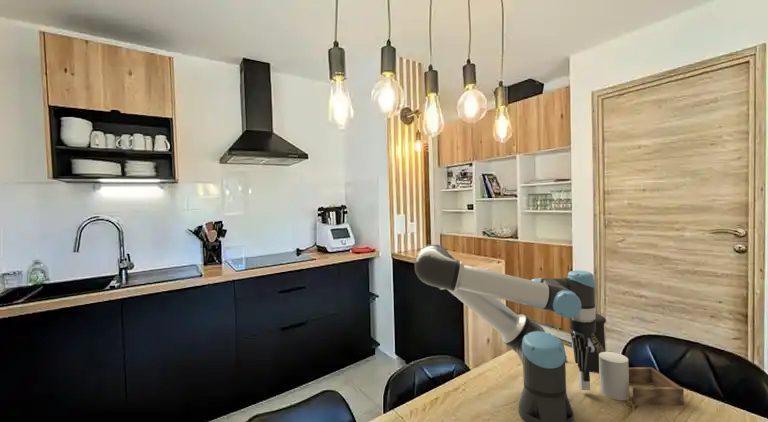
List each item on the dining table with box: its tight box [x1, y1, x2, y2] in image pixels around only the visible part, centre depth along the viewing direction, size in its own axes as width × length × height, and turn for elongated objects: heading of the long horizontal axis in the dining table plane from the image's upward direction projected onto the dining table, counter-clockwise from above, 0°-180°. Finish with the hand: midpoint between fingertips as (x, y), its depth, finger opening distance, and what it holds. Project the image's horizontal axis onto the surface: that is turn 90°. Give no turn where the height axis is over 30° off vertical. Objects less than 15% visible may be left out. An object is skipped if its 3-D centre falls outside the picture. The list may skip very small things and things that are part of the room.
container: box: [591, 313, 607, 373], centre depth 134 cm, size 9×9×20 cm
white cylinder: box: [598, 351, 630, 401], centre depth 116 cm, size 8×8×12 cm
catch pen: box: [629, 366, 685, 406], centre depth 115 cm, size 14×14×5 cm
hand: (584, 388), depth 117 cm, fingers closed
